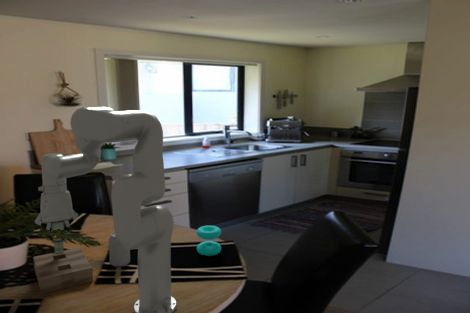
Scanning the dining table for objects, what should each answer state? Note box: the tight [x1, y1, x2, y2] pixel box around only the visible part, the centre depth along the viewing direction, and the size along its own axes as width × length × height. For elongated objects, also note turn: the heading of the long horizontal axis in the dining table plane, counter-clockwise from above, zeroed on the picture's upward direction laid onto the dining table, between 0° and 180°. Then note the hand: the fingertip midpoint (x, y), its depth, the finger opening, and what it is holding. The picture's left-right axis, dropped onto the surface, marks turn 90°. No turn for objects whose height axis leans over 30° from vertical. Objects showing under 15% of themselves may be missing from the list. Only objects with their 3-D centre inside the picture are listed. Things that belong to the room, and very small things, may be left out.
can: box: [108, 231, 131, 268], centre depth 146 cm, size 8×8×12 cm
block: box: [32, 247, 94, 295], centre depth 137 cm, size 20×16×5 cm
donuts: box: [196, 225, 222, 257], centre depth 158 cm, size 10×10×10 cm
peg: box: [50, 220, 65, 255], centre depth 139 cm, size 4×4×12 cm
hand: (58, 237), depth 139 cm, fingers closed on peg, 4 cm apart
